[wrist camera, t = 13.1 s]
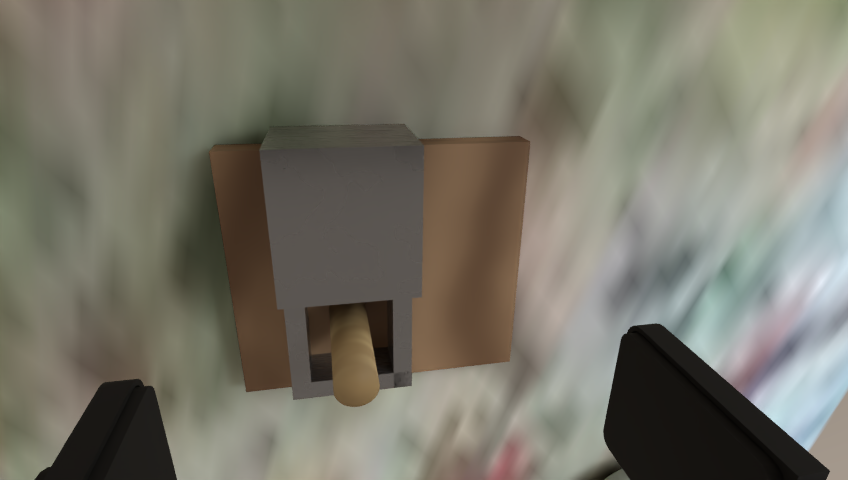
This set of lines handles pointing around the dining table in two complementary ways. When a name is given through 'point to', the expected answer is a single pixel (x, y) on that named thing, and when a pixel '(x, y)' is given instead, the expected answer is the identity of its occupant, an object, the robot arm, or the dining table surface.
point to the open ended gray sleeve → (345, 236)
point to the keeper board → (367, 321)
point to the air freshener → (618, 476)
